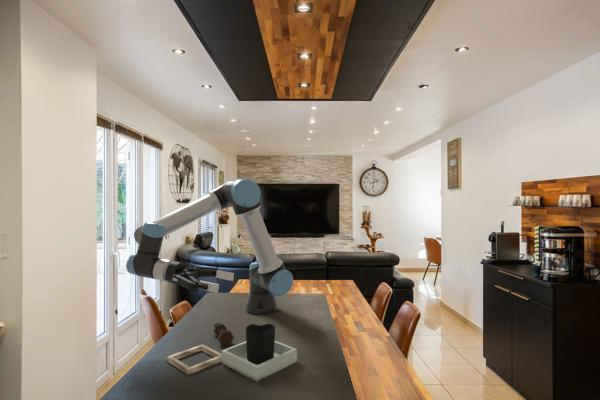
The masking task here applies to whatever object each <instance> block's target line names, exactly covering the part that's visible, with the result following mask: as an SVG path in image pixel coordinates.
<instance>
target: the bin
mask: <svg viewBox="0 0 600 400" xmlns="http://www.w3.org/2000/svg"><path fill="white" fill-rule="evenodd" d="M297 352H298V349H297V348H295V347H293V346H290V345H287V344H285V343H282V342H280V341H277V340H275V343H274V358H272V359H270V360H268V361H266V362H264V363H262V364H259V365H257V364H253V363H251V362H249V361H248V360H247V351H246V340H245V341H243V342H240V343H238V344H234V345H233V346H231V347H227V348H225V349H222V350H221V362H220V363H221V365H225V366H226V367H228V368H230V369H231V368H232V370H233V369H234V370H233V371H235V370H236V372H237V371H238V373H239V372H240V374H241V375H242V376H244V377H247V378H248V379H250V378H251V380H252V381H255V382H259V380H260V381H261V379H262V380H264V379H266V378H267V377H269V376H271V375H273V374H275V373H277V372H279V371H281V370H283V369H285V368H287V367H289V366H290V365H292V364H295V363H296V362H297V361H298V359H297V357H298V353H297ZM263 378H264V379H263Z"/></svg>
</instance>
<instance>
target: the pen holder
mask: <svg viewBox="0 0 600 400" xmlns="http://www.w3.org/2000/svg"><path fill="white" fill-rule="evenodd" d="M275 336H276V327H275V325H274V324H272V323H266V324H261V325H260V324H254V323H253V324H248V325H247V326H246V327H245V341H246V351H247V360H248V361H249V362H251V363H253V364H257V365H259V364H262V363H264V362H266V361H268V360H270V359H272V358H274V343H275V341H276V340H275V339H276V337H275Z"/></svg>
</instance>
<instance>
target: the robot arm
mask: <svg viewBox="0 0 600 400" xmlns="http://www.w3.org/2000/svg"><path fill="white" fill-rule="evenodd" d="M261 195H262V191H261V188H260V186H259V185H258V184H257V183H256V182H255V181H254V180H253V179H249V178H238V179H232V180H228V181H225V182H224V183H223V184H221V185H219V186H217V187H216V188H214V189H213V190H211V191H209V192H208V194H207V195H204V196H203V197H200V198H199V199H197V200H194V201H193V202H191V203H188V204H186V205H185V206H183V207H181V208H178V209H176V210H173V211H172V212H170V213H167V214H166V215H164V216H161V217H160V218H157V219H156V220H154V221H152V222H151V221H149V222H148V221H145V222H144V224H143V225H140V226H138V227H137V228H136V229H135V230H134V233H133V238H134V241H135V242H136V244H138V247H137V248H138V249H137V251H136V253H135V252H134V253H132V254H130V255H129V256H128V260H126V265H125V267H126V268H125V269H126V271H127V272H128V273H129V274H131V275H133V276H134V275H135V276H137V277H142V278H148V279H153V280H157V281H159V282H167V283H171V284H175V285H176V284H177V285H179V286H180V287H182V288H185V289H187V290H189V291H193V292H194V293H197V292H198V290H202V291H207V292H211V293H216V294H218V293H219V289H220V288H219V286H220V284H219V283H216V282H209V281H205V280H199V281H198V280H197V279H199V278H202V277H203V278H208V277H210V278H211V277H212V278H213V277H215V278H216V279H220V280H226V281H229V282H230V281H232V282H234V277H235V273H234V272H230V271H224V270H219V267H217V266H216V267H214V266H213V267H211V266H210V267H208V266H195V265H191V266H190V267H186V266H185V264H184V262H182V261H177V260H172V259H167V258H160V253H161V249H162V245H163V241H164V237H167V236H168V235H169V236H170V235H171V234H173V233H174V232H176V231H179V230H180V229H182V228H184V227H186V226H188V225H190V224H192V223H194V222H196V221H197V220H199V219H202V218H204V217H206V216H208V215H210V214H212V213H213V212H215V211H217V212H218V211H219V212H221V211H222V210H224V209H227V208H231V207H232V209H233V213H234V214H235V216H237V217H239V218H240V220H241V222H242V225H243V227H244V230H245V232H246V235H247V237H248V240H249V243H250V245H251V248H252V250H253V251H254V252H253V253H254V255H255V258H256V260H257V261H254V262H251V263H250V264H249V277H248V278H249V280H248V281H249V294H248V296H247V300H246V304H245V312H247V313H248V314H252V315H268V314H269V315H270V314H273V313H275V312H277V310H278V303H277V299H276V297H275V296H277V297H283V296H285V295H286V294H288V293H289V292H290V291H291V290H292V286H293V285H294V277H293V274H292V272H291V271H289V270H288V269H286V266H285V264H284V262H283V260H282V259H279V258H278V255H277V254H276V253H277V252H276V250H275V248H274V245H273V242H272V240H271V237H270V235H269V232H268V229H267V226H266V224H265V222H264V219H263V216H262V213H261V211H260V209H261V207H262V203H261V201H260V200H261V197H262V196H261Z"/></svg>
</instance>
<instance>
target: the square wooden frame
mask: <svg viewBox="0 0 600 400" xmlns="http://www.w3.org/2000/svg"><path fill="white" fill-rule="evenodd" d="M199 352H203V353H205V354H207V355H208V356H211V357H212V358H210V359H207V360H204V361H202V362H199V363H197V364H194V365H193V366H189V365H187V364H185V363H184V362H182V361H181V360H180V359H182V358H185V357H187V356H188V357H189V356H190V355H194V354H196V353H199ZM221 354H222V352H221V353H220V352H219V351H217V350H215V349H212V348H210V347H209V346H206V345H205V344H203V343H202V344H199V345H197V346H194V347H191V348H188V349H185V350H183V351H179V352H176V353H173V354H171V355H169V356H166V362H167V363H169V364H170V365H172V366H174V367H175V368H177V369H178V370H180V371H182V372H183V373H184V374H186V375H188V376H189V375H192V374H195V373H197V372H200V371H201V370H203V369H206V368H208V367H211V366H215V365H216V364H218V363H221Z"/></svg>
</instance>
